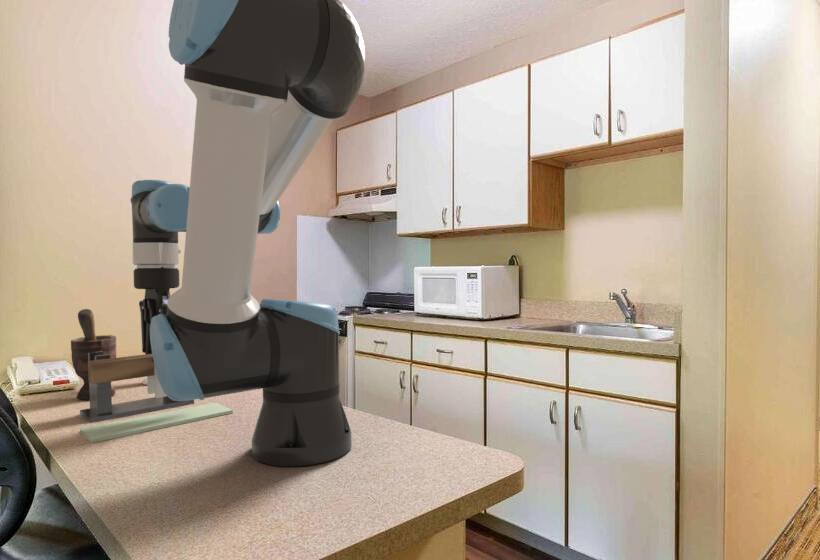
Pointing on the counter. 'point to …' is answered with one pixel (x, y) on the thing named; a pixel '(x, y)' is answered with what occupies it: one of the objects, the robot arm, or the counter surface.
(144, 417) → the mat
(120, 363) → the rail
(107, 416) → the rack
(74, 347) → the mortar and pestle
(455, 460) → the counter surface
